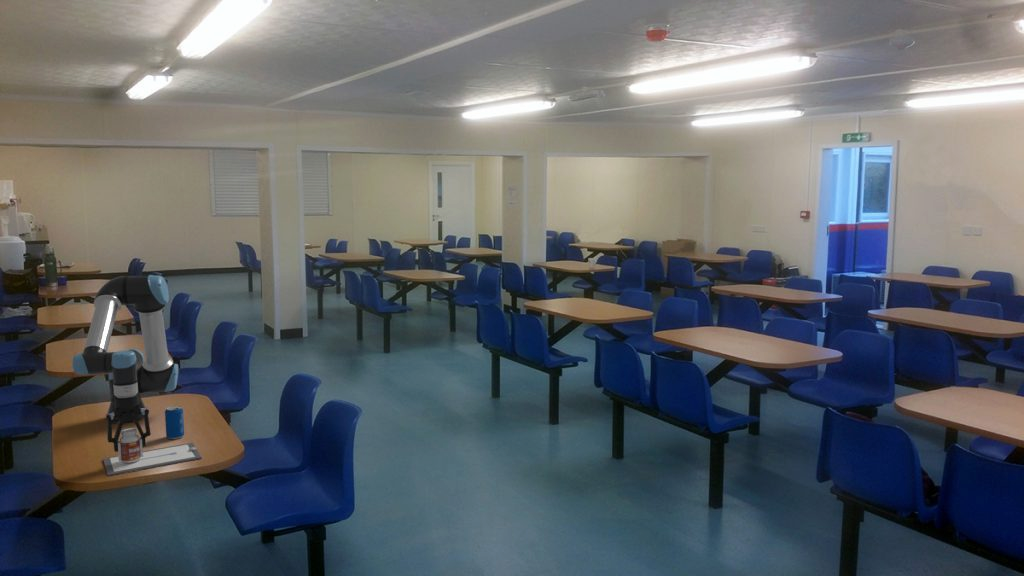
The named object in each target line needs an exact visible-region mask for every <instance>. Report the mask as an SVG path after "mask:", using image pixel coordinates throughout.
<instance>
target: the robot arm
mask: <svg viewBox="0 0 1024 576" xmlns="http://www.w3.org/2000/svg"><path fill="white" fill-rule="evenodd" d="M169 301H170V293H169V287H168V283H167V281H166V279H165V278H164V277H163V276H161V275H153V274H149V275H120V276H117V277H114V278H112V279H110V280H109V281H107V282H106V283H104V285H102V286H101V288H100V289H99V290H98V291H97V293H96V295H95V297H94V300H93V306H94V312H93V316H92V319H91V323H90V326H89V329H88V333H87V336H86V340H85V343H84V348H83V351H82V352H79V353H76V354H74V356H73V357H72V364H71V365H72V370H73V372H74V374H76V375H84V376H85V375H87V376H88V375H96V374H108V385H109V398H110V401H109V402H110V403H109V406H108V409H107V413H106V414H105V418H106V421H107V431H106V432H107V433H106V434H107V436H106V437H107V442H108V443H112V444H113V450H114V452H115V453H117V456H118V459H119V461H122V460H121V446H120V435H121V434H122V430H123V425H124V424H125V423H132V422H133V423H134V425H135V426H136V430H137V431H138V434H139V443H140V457H143V451H144V450H143V448H144V447H146V438H148V437H150V436H151V428H150V421H149V413H150V409H149V408H148V407H146V406H145V403H144V400H143V399H142V394H148V393H151V394H152V393H165V392H173V391H175V389H176V388H177V385H178V379H179V365H178V363H174V360H173V359H172V357H170V356H169V351H168V345H167V337H166V329H165V323H164V322H165V321H164V315H163V313H164V312H163V310H164V309H165V308H166V305H167V304H168V303H169ZM122 306H133V310H134V311H135V312H136V313H138V316H139V323H140V329H141V330H140V331H141V335H142V342H143V343H142V344H143V349H144V354H143V352H142V351H141V350H139V349H136V348H130V349H127V350H118V351H111V352H110V351H108V350H109V345H110V342H111V337H112V333H113V329H114V325H115V321H116V317H117V314H118V312H119V311H120V310H121V309H122ZM141 420H143V422H144V428H145V432H144V431H143V428H142V426H141V424H140V422H139V421H141ZM113 424H117V426H116V429H115V433H114V437H113Z"/></svg>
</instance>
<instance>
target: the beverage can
mask: <svg viewBox="0 0 1024 576" xmlns="http://www.w3.org/2000/svg"><path fill="white" fill-rule="evenodd" d="M164 417H165V418H164V420H165V421H164V422H165V433H166V434H165V435H166V436H165V437H166V438H168V439H169V440H178V439H181V438H183V436H185V424H184V423H185V422H184V408H183V407H182V406H181V405H170V406H168V407H165V411H164Z"/></svg>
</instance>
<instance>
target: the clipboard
mask: <svg viewBox="0 0 1024 576" xmlns="http://www.w3.org/2000/svg"><path fill="white" fill-rule="evenodd" d="M202 459H203V458H202V456H201V454H200V452H199V451H198V449H197V447H196V446H195V445H194V443H193V442H188V443H184V444H183V443H182V444H177V445H171V446H166V447H160V448H159V447H158V448H154V449H147V450H143V457H140V459H139V460H138V461H136V462H131V463H124V462H122V461H119V459H118V455H113V456H108V457H103V459H102V461H103V464H104V467H105V471H106V473H107V476H108V477H112V476H116V475H122V473H123V474H126V473H125V472H128V473H131V472H130V471H134V472H136V471H135V470H139V471H143V470H142V469H144V470H149V468H150V469H154V468H159V467H160V468H161V467H166V466H170V465H176V464H181V463H186V462H191V461H197V460H202Z"/></svg>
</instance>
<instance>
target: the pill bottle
mask: <svg viewBox="0 0 1024 576" xmlns="http://www.w3.org/2000/svg"><path fill="white" fill-rule="evenodd" d="M139 437H140V435H138V434H137V428H134V427H133V428H131V427H130V428H126V429H125V428H124V429H121V437H119V441H120V446H121V460H122V462H124V463H131V462H136V461H138V460H139V459H140V443H139Z"/></svg>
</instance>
